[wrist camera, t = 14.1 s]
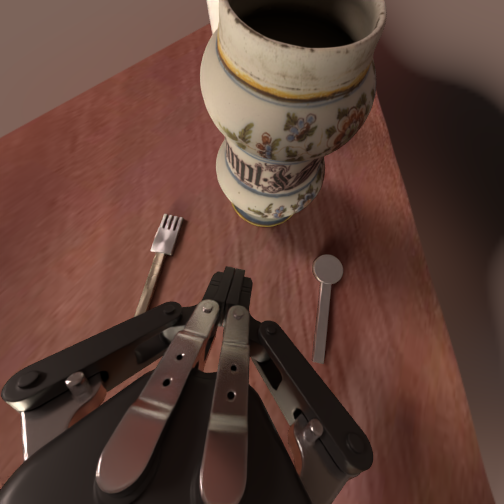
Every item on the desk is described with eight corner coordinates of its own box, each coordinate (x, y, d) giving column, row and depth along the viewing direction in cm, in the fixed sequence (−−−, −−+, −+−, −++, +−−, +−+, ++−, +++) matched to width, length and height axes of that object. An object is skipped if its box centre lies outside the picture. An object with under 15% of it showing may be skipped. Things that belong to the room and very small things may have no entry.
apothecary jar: (273, 145, 29) (323, -95, 11) (323, 205, 26) (480, 26, 9) (205, 183, 26) (133, -42, 9) (253, 251, 24) (282, 133, 7)
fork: (148, 330, 21) (145, 331, 21) (126, 326, 21) (123, 326, 21) (184, 219, 25) (182, 217, 24) (165, 215, 25) (163, 213, 24)
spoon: (332, 364, 22) (335, 366, 21) (300, 357, 22) (302, 359, 21) (341, 258, 25) (344, 257, 24) (313, 252, 25) (315, 251, 24)
